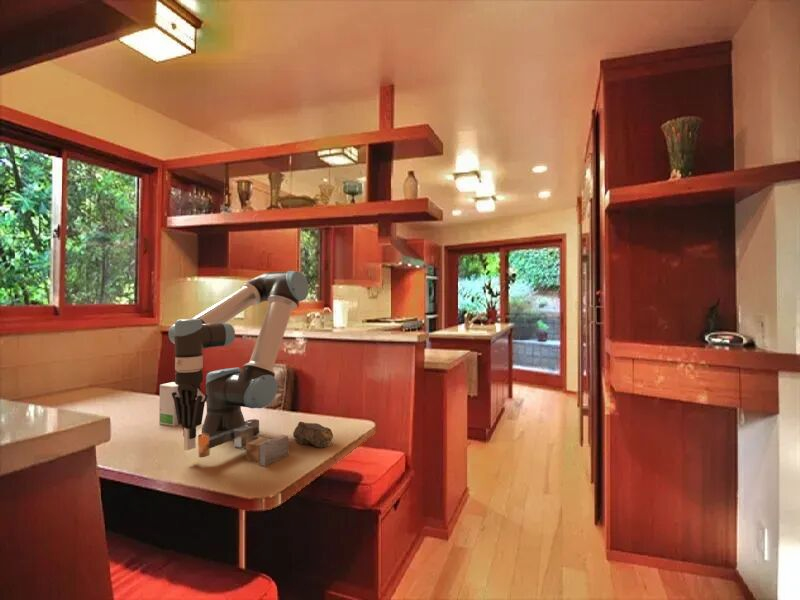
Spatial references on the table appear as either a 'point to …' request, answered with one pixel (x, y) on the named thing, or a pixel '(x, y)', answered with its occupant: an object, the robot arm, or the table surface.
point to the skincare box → (167, 404)
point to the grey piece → (272, 449)
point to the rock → (313, 434)
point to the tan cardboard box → (255, 448)
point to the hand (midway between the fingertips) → (189, 448)
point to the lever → (228, 437)
